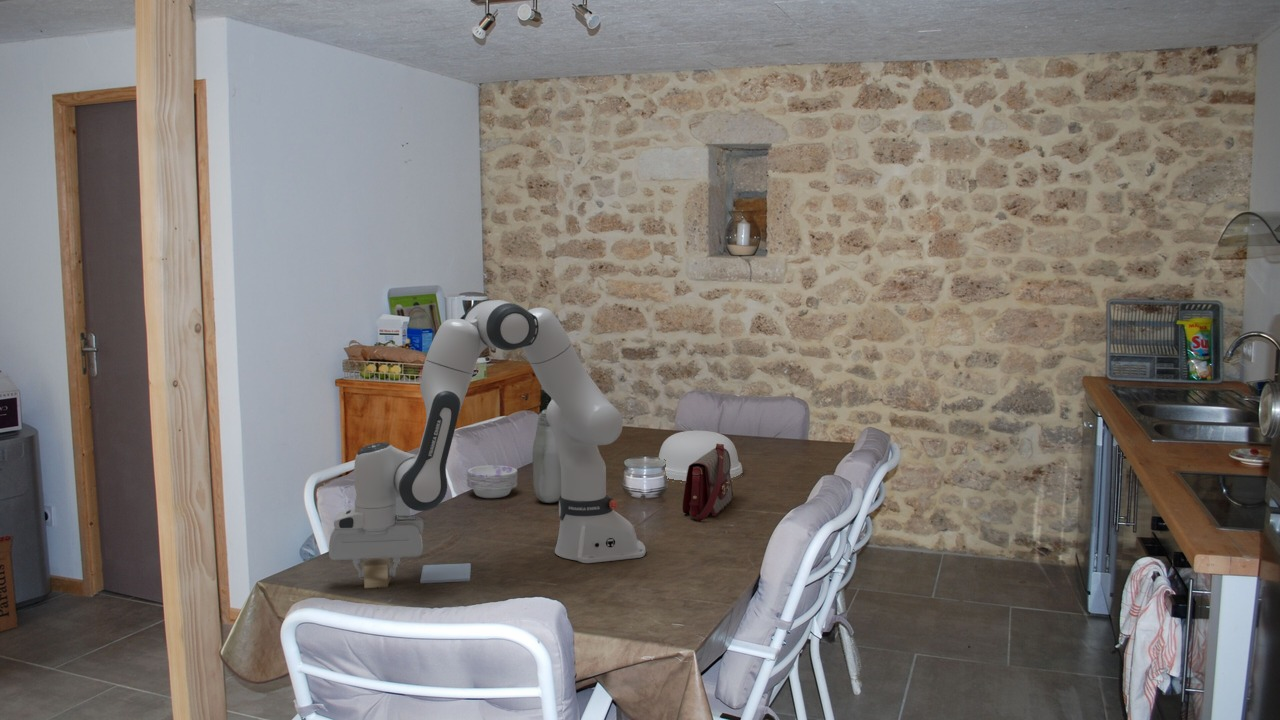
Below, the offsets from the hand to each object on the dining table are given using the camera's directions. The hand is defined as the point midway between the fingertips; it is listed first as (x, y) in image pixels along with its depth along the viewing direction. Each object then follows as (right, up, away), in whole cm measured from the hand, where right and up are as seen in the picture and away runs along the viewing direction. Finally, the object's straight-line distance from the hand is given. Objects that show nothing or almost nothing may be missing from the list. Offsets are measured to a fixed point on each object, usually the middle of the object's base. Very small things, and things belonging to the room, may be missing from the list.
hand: (377, 576), depth 221 cm
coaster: (+14, -1, +7) cm, 16 cm away
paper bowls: (+14, +7, +81) cm, 82 cm away
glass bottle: (+32, +6, +73) cm, 80 cm away
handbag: (+79, +5, +65) cm, 102 cm away
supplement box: (-5, +2, +31) cm, 31 cm away
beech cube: (0, -2, 0) cm, 2 cm away
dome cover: (+78, +10, +112) cm, 137 cm away
